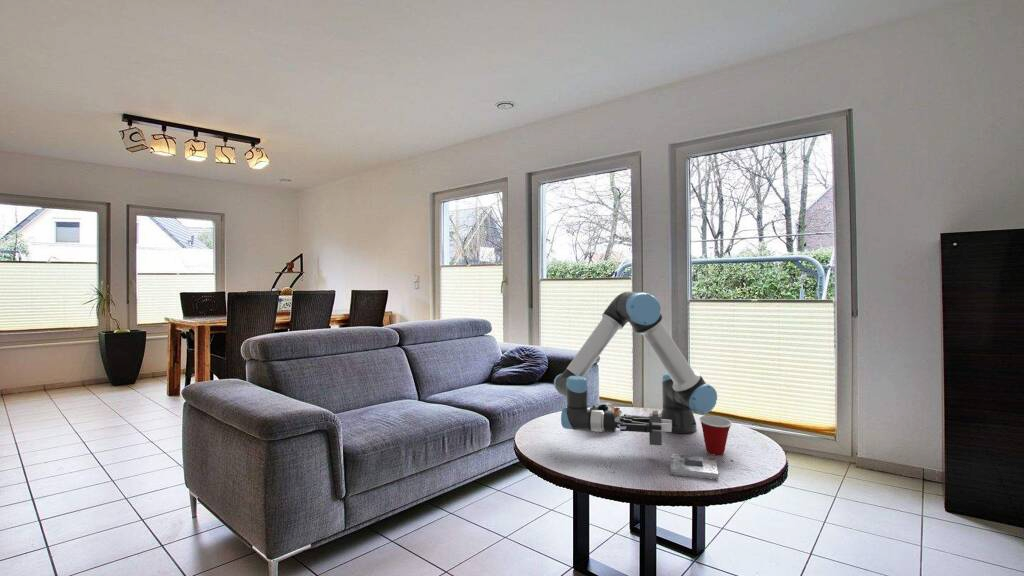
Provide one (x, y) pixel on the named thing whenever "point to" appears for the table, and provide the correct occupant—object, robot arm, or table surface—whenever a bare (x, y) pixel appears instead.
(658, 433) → the plug
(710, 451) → the plastic cup
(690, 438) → the table surface
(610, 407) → the lucky cat figurine
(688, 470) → the socket
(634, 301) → the robot arm
